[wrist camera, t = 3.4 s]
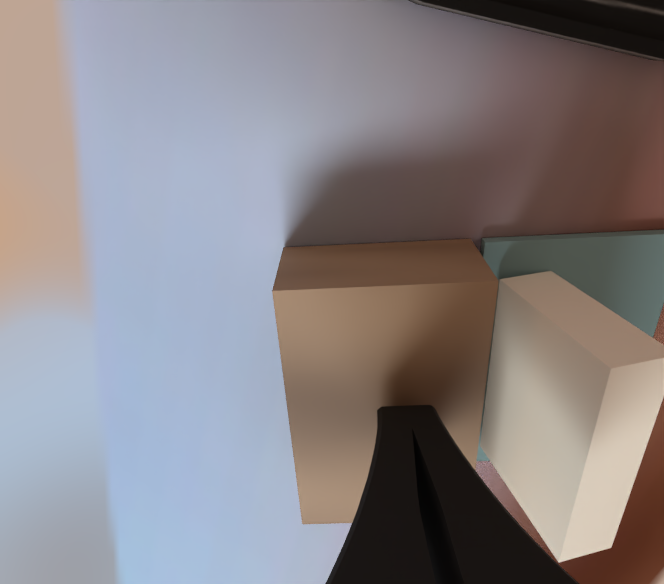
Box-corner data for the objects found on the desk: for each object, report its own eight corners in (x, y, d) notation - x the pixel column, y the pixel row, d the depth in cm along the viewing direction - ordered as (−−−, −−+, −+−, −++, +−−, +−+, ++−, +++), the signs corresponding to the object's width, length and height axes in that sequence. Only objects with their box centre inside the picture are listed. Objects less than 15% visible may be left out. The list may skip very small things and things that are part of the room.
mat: (610, 449, 16) (615, 456, 16) (460, 454, 16) (462, 461, 16) (678, 229, 12) (685, 232, 12) (481, 238, 13) (484, 242, 12)
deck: (451, 455, 16) (469, 519, 14) (307, 459, 17) (302, 524, 14) (470, 238, 13) (498, 281, 10) (283, 247, 13) (272, 291, 11)
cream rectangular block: (479, 445, 15) (521, 435, 16) (558, 562, 12) (611, 547, 12) (499, 279, 12) (550, 270, 13) (610, 368, 9) (678, 355, 9)
